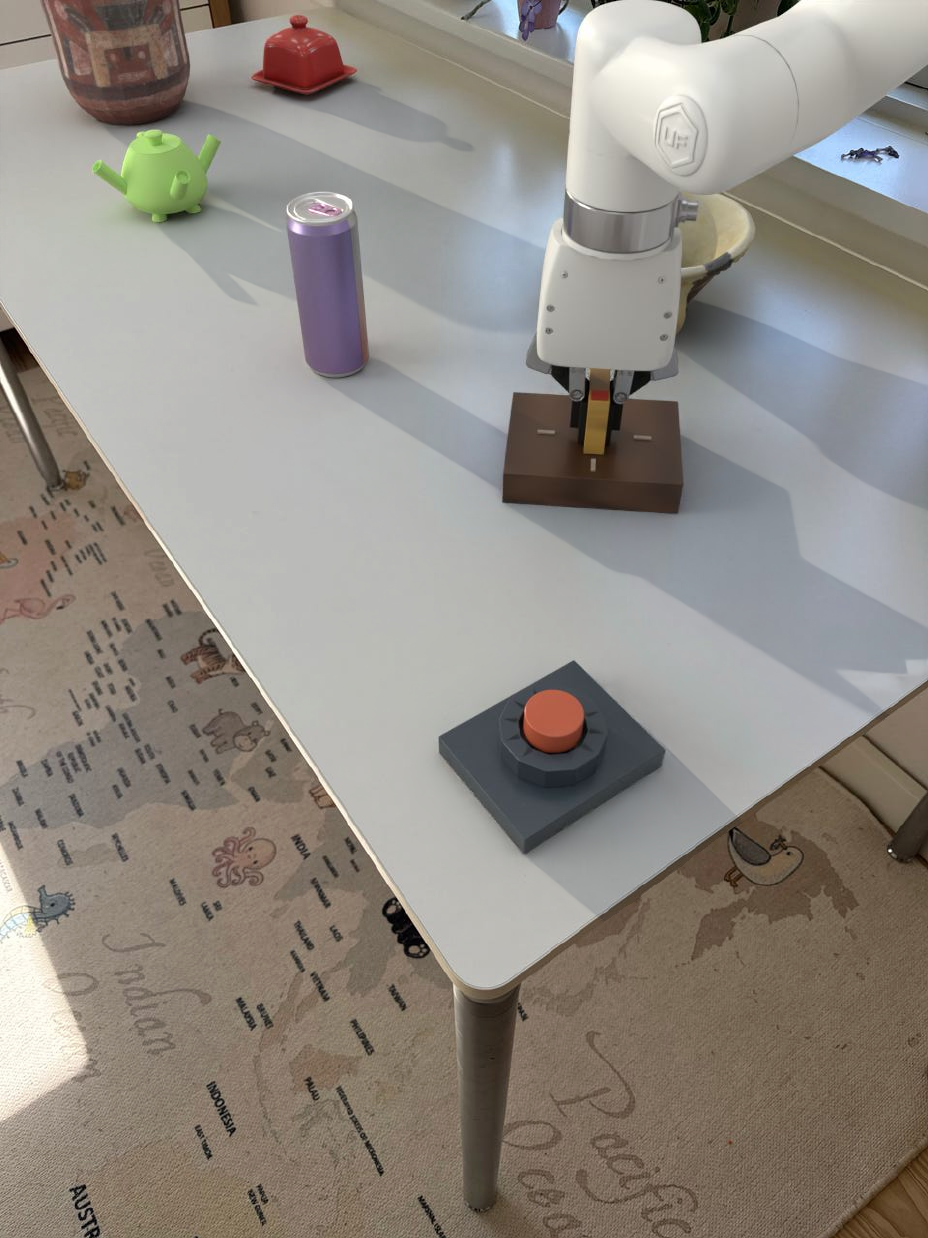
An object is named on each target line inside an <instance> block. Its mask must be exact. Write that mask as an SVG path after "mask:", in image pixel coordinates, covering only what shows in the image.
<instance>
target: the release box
mask: <svg viewBox="0 0 928 1238" xmlns="http://www.w3.org/2000/svg"><path fill="white" fill-rule="evenodd" d="M545 690H560V691H564V692H567V693H569V694H571V695H572V696H574V697H575V698H576V699H577V700H578V701H579V702H580V704H581V705H582V707H583V710H584V722H583V729H582V735H581V738H580V740H579V742H578V743H577V744H576V745H575V746H574V747H573V748H571V749H570V750H568V751H565V752H562V753H547V752H543V751H540V750H538V749H537V748H535V747H534V746H532V745H531V744H530V743H529V742H528V740H527V739H526V737H525V734H524V730H523V726H524V711H525V706H526V704H527V702H528V701H529V699H530V698H531V697H533V696H534V695H535V694H537V693H539V692H542V691H545ZM437 739H438V753H439V754H440V755H441V756H442V758H443V759H444V760H445V762H447V764H448V765H449V766H450V768H451V769H452V770H453V771H454V772H455V773H456V775H457V776H458V777H459V779H461V781H462V782H463V783H464V785H466V787H467V788H468V789H469V790H470V791H471V793H472V794H473V795H474V796H475V798H476V799H477V800H478V801H479V802H480V804H481V805H482V806H483V808H485V810H486V811H487V812H488V813H489V815H490V816H491V817H492V818H493V820H494V821H496V823H497V824H498V825H499V826H500V828H501V829H502V830H503V831H504V833H505V834H506V835H507V837H509V838H510V840H511V841H512V842H513V844H514V845H515V846H516V847H517V848H518V849H519V851H520V852H521V854H523V855H525V854H527V853H528V852H530V851H532V850H533V849H535V848H536V847H538V846H539V845H541V844H542V843H544V842H545V841H547V840H549V839H550V838H552V837H553V836H555V835H557V834H559V832H561V831H563V830H564V829H566V828H567V827H569V826H570V825H572V824H573V823H575V822H577V821H578V820H580V819H581V818H583V817H584V816H586V815H587V814H589V813H591V812H592V811H593V810H595V809H597V808H598V807H600V806H601V805H603V804H604V803H606V802H608V801H609V800H610V799H612V798H613V797H616V796H617V795H618V794H620V793H622V792H623V791H624V790H626V789H627V788H629V787H631V786H632V785H634V784H635V783H637V782H638V781H640V780H642V779H643V778H645V777H646V776H648V775H649V774H651V773H652V772H654V771H655V770H657V769H659V768H660V767H662V766H663V762H664V758H665V754H666V749H665V748H664V747H663V746H662V745H661V744H660V743H659V742H658V741H657V740H656V739H655V738H654V737H653V736H652V735H651V734H650V733H649V732H648V731H647V730H646V729H645V728H644V727H643V726H642V725H641V724H640V723H639V722H638V721H637V720H636V719H635V718H634V717H633V716H632V715H631V714H630V713H629V712H628V711H626V709H624V708H623V707H622V705H621V704H619V703H618V702H617V701H616V700H615V698H613V696H611V695H610V694H609V693H608V692H607V691H606V690H605V689H604V688H603V687H602V686H601V685H600V684H599V683H598V682H597V681H596V680H595V679H594V678H593V677H592V676H591V675H590V674H589V673H588V672H587V671H586V670H585V669H584V668H583V667H582V666H581V665H580V664H579V663H578V662H577V661H576V660H575V659H573V660H572V661H569V662H568V663H566V664H564V665H562V666H561V667H559V668H557V669H556V670H554V671H552V672H549V674H547V675H544V676H543V677H541V678H540V679H538V680H536V681H534V682H532V683H530V684H529V685H527V686H526V687H524V688H522V689H520V690H519V691H517V692H514V693H512V694H511V695H510V696H508V697H506V698H504V699H502V700H501V701H499V702H497V703H496V704H493V705H491V706H490V707H488V708H486V709H485V710H482V711H481V712H480V713H478V714H476V715H474V716H472V717H470V718H468V719H467V720H465V721H464V722H462V723H460V724H458V725H456V726H455V727H453V728H451V729H450V730H448V731H446V732H445V733H442V734H440V735H439V736H438V737H437Z"/></svg>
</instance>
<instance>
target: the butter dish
mask: <svg viewBox="0 0 928 1238" xmlns="http://www.w3.org/2000/svg"><path fill="white" fill-rule="evenodd" d="M288 21H289V24H290V25H291V26H290V27H287V28H284V29H281V30H279V31H277V32H275V33H273V34H272V35H271V36H269V37H268V38H267V39H266V41H265V42H264V45H263V54H262V55H263V56H262V69H261V70H259V71H256V72H255V73H253V74H252V75H251V76H250V79H251V80H253V81H255V82H259V83H263V84H267V85H269V86H272V87H275V88H279V89H282V90H287V91H290V92H294V93H297V94H301V95H306V96H310V95H313V94H315V93H317V92H319V91H321V90H323V89H325V88H327V87H329V86H331V85H334V84H336V83H338V82H340V81H342V80H344V79H346V78H348V77H350V76H352V75H354V74H356V73H357V72H358V68H356V67H354V66H350V65H347V64H344V62H343V59H342V58H343V57H342V54H341V51H340V48H339V44H338V42H337V40H336V39H335V37H333V36H332V35H331V34H329V33H327V32H325V31H323V30H320V29H317V28H314V27H310V26H309V27H308V26H307V25H308V22H309V20H308V18H307V17H306V16H305V15H302V14H294V15H292V16H290V18H289V19H288Z"/></svg>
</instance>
